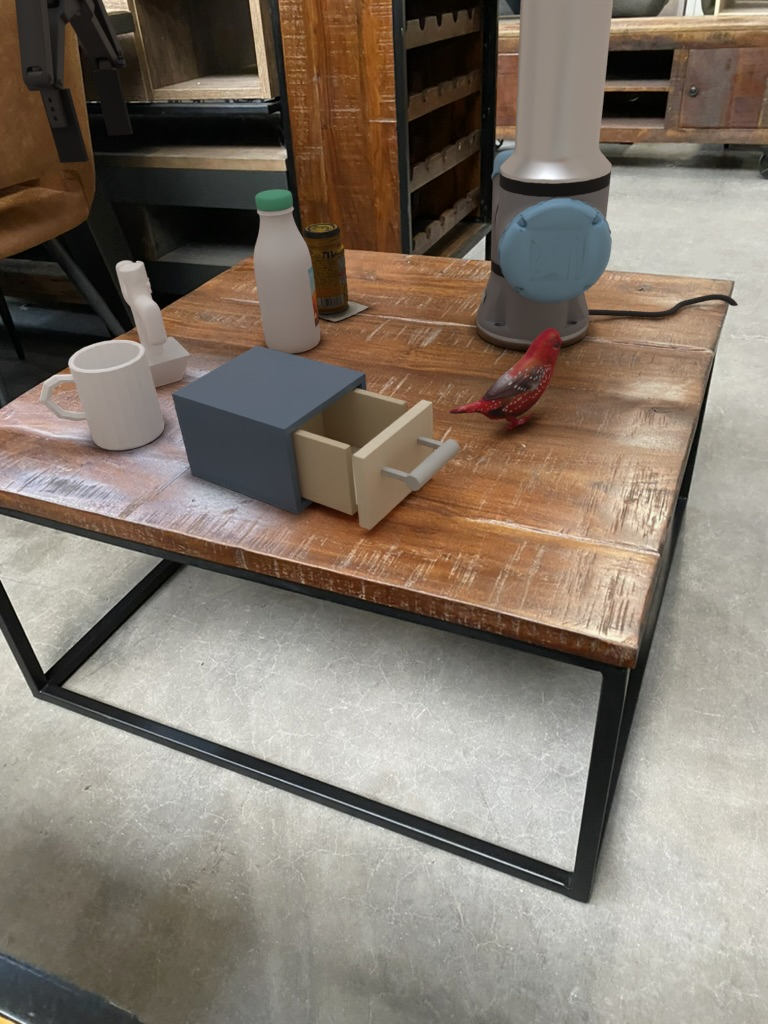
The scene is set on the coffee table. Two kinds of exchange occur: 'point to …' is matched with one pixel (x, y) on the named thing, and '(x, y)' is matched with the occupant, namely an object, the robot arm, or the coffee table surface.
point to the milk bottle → (284, 277)
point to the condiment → (329, 272)
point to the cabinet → (257, 420)
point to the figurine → (151, 325)
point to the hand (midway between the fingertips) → (99, 147)
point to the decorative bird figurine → (520, 383)
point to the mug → (112, 394)
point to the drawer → (368, 454)
